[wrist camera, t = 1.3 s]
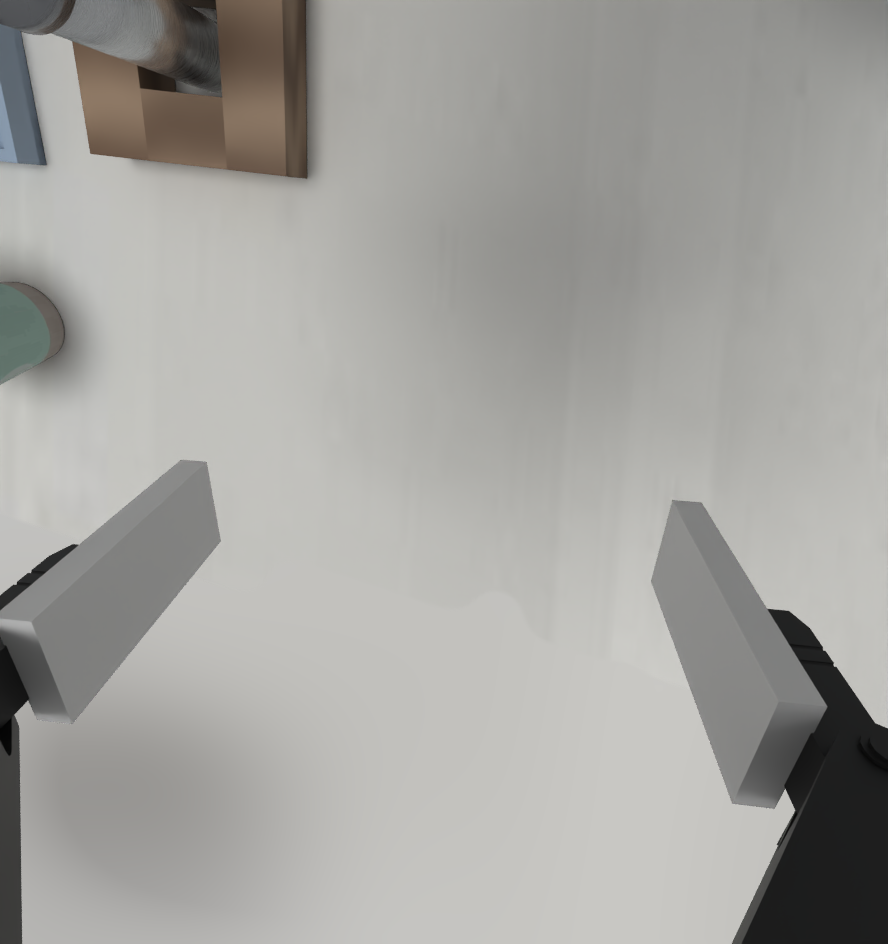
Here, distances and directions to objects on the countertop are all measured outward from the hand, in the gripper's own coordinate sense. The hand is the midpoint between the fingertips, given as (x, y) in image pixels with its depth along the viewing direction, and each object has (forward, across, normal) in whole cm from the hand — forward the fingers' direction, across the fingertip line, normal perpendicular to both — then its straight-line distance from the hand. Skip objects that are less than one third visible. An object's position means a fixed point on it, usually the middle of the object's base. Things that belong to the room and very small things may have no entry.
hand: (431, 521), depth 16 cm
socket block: (+27, -17, +15) cm, 35 cm away
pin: (+27, -17, +15) cm, 35 cm away
